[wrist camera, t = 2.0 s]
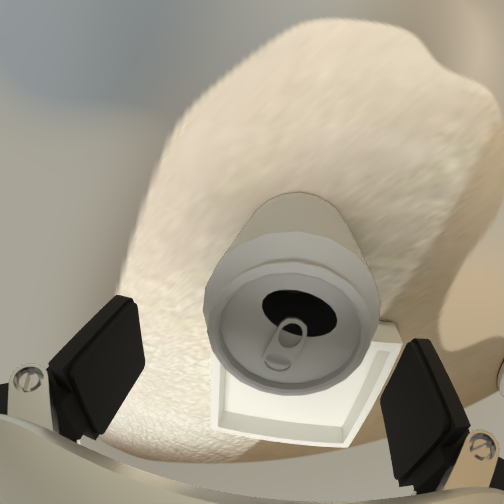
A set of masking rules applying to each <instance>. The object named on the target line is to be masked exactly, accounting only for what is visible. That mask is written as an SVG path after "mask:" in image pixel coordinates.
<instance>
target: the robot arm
mask: <svg viewBox="0 0 504 504" xmlns="http://www.w3.org/2000/svg"><path fill="white" fill-rule="evenodd" d="M144 366H145V356H144V350H143V344H142V337H141V330H140V322H139V314H138V307H137V304H136V303H134V301H133V299H132V298H129V297H125V296H121V295H116V296H114V297H113V299H111V300H110V301H109V302H108V303H107V304H106V305H105V306H104V307H103V308H102V309H101V310H100V311H99V312H98V313H97V314H96V315H95V316H94V317H93V318H92V319H91V320H90V321H89V322H88V323H87V324H86V325H85V326H84V327H83V328H82V329H81V330H80V331H79V332H78V333H77V334H76V335H75V336H74V337H73V338H72V339H71V340H70V341H69V342H68V343H67V344H66V345H65V346H64V347H63V348H62V349H61V350H60V351H59V353H57V354H56V355H55V357H54V358H53V359H52V360H51V361H50V362H49V367H48V368H47V369H45V368H44V367H42V366H41V365H39V364H35V363H28V364H24V365H22V366H20V367H18V368H17V369H15V370H14V371H13V373H12V374H11V376H10V379H9V383H6V384H0V504H504V459H502V458H500V457H498V456H499V444H498V442H497V440H496V438H495V437H494V436H493V435H492V434H491V433H489V432H488V431H485V430H479V429H477V430H474V431H472V432H471V433H470V432H469V429H468V428H469V427H470V426H471V425H470V423H469V420H468V418H467V416H466V413H465V411H464V409H463V406H462V404H461V402H460V400H459V397H458V395H457V393H456V391H455V389H454V387H453V385H452V382H451V380H450V378H449V376H448V374H447V372H446V370H445V368H444V366H443V364H442V362H441V360H440V358H439V356H438V354H437V353H436V351H435V349H434V347H433V345H432V343H431V341H430V340H429V339H418V338H415V339H413V340H412V341H411V342H409V343H407V345H406V347H405V349H404V351H403V353H402V355H401V358H400V360H399V362H398V364H397V366H396V368H395V370H394V372H393V374H392V376H391V378H390V380H389V382H388V384H387V386H386V388H385V390H384V392H383V393H382V396H381V400H380V404H381V409H382V414H383V418H384V423H385V428H386V433H387V438H388V443H389V449H390V454H391V460H392V466H393V473H394V477H395V479H396V480H398V481H399V487H402V486H409V485H413V486H414V491H413V493H412V495H411V496H405V497H398V498H389V499H380V500H370V501H353V502H302V501H286V500H285V501H284V500H275V499H265V498H257V497H249V496H243V495H236V494H231V493H225V492H220V491H215V490H210V489H206V488H201V487H197V486H193V485H189V484H185V483H181V482H177V481H174V480H171V479H167V478H163V477H161V476H158V475H154V474H151V473H148V472H145V471H143V470H140V469H137V468H134V467H131V466H129V465H126V464H124V463H121V462H119V461H116V460H114V459H111V458H109V457H106V456H104V455H102V454H99V453H97V452H95V451H93V450H90V449H88V448H86V447H84V446H82V445H81V443H80V438H81V437H82V435H85V436H87V437H89V438H91V439H94V440H96V438H97V437H98V436H99V434H101V435H102V434H104V433H105V431H106V429H107V428H108V426H109V424H110V423H111V421H112V419H113V418H114V416H115V414H116V413H117V411H118V410H119V408H120V406H121V405H122V403H123V401H124V400H125V398H126V396H127V395H128V393H129V392H130V390H131V388H132V387H133V385H134V383H135V382H136V380H137V379H138V377H139V375H140V374H141V372H142V371H143V369H144ZM497 386H498V389H499V391H500V393H501V395H502V396H503V397H504V362H503V364H502V366H501V369H500V372H499V375H498V380H497Z"/></svg>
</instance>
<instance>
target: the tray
mask: <svg viewBox="0 0 504 504" xmlns="http://www.w3.org/2000/svg"><path fill="white" fill-rule="evenodd" d="M402 345H403V343H402V340H401V338H400V335H399V333H398V331H397V328H396V326H395V323H392V322H382V321H379V325H378V328H377V330H376V332H375V334H374V336H373V338H372V341H371V344H370V347H369V349H368V351H367V353H366V355H365V357H364V359H363V361H362V363H361V365H360V366H359V367H358V368H357V369H356V370H355V371H354V372H353V373H352V374H351V375H350V376H349V377H348V378H347V379H345V380H343V381H342V382H340V383H338V384H336V385H334V386H333V387H331V388H329V389H327V390H324V391H320V392H316V393H312V394H308V395H301V396H281V395H276V394H271V393H266V392H262V391H259V390H257V389H255V388H252V387H250V386H248V385H246V384H244V383H242V382H240V381H239V380H238V379H236V378H235V377H234V376H233V375H232V374H230V373H229V372H228V371H227V370H226V369H224V367H223V366H222V365H221V363H220V362H219V360H218V359H217V357H216V356H215V354H214V353H213V351H212V348H211V379H210V429H211V430H216V431H220V432H225V433H229V434H234V435H239V436H245V437H250V438H256V439H262V440H269V441H276V442H283V443H291V444H301V445H311V446H324V447H344V448H348V446H349V445H350V443H351V442H352V440H353V439H354V437H355V435H356V434H357V432H358V430H359V429H360V427H361V425H362V424H363V422H364V420H365V419H366V417H367V415H368V413H369V412H370V410H371V408H372V406H373V404H374V403H375V401H376V399H377V397H378V395H379V393H380V391H381V389H382V387H383V385H384V383H385V381H386V379H387V377H388V375H389V373H390V371H391V369H392V367H393V365H394V363H395V361H396V358H397V356H398V354H399V352H400V350H401V347H402Z"/></svg>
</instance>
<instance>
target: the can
mask: <svg viewBox="0 0 504 504" xmlns="http://www.w3.org/2000/svg"><path fill="white" fill-rule="evenodd" d="M203 313H204V317H205V321H206V325H207V332H208V336H209V340H210V344H211V348H212V351H213V353H214V354H215V356H216V357H217V359H218V360H219V362H220V363H221V365H222V366H223V367H224V369H226V370H227V371H228V372H229V373H230V374H232V375H233V376H234V377H235V378H236V379H238V380H239V381H240V382H242V383H244V384H246V385H248V386H250V387H252V388H255V389H257V390H259V391H262V392H266V393H271V394H276V395H281V396H301V395H308V394H312V393H316V392H320V391H324V390H327V389H329V388H331V387H333V386H334V385H336V384H338V383H340V382H342V381H343V380H345V379H347V378H348V377H349V376H350V375H351V374H352V373H353V372H354V371H355V370H356V369H357V368H358V367H359V366H360V365H361V363H362V361H363V359H364V357H365V355H366V353H367V351H368V349H369V347H370V344H371V341H372V338H373V336H374V334H375V332H376V330H377V328H378V325H379V315H380V297H379V294H378V291H377V287H376V284H375V281H374V278H373V275H372V273H371V271H370V269H369V267H368V265H367V263H366V261H365V259H364V257H363V255H362V253H361V251H360V249H359V247H358V245H357V243H356V241H355V239H354V237H353V235H352V233H351V231H350V229H349V227H348V226H347V224H346V222H345V220H344V218H343V217H342V216H341V215H340V213H339V212H338V211H337V210H336V209H335V207H334V206H333V205H331V204H330V203H328V202H327V201H325V200H323V199H322V198H320V197H318V196H315V195H310V194H306V193H302V192H298V193H287V194H282V195H279V196H277V197H275V198H273V199H270V200H268V201H267V202H265V203H264V204H263V205H262V206H261V207H260V208H259V209H258V210H257V211H256V212H255V213H254V214H253V215H252V217H251V218H250V220H249V221H248V222H247V224H246V225H245V226H244V228H243V229H242V231H241V232H240V233H239V235H238V236H237V238H236V239H235V240H234V242H233V243H232V245H231V246H230V247H229V249H228V250H227V252H226V253H225V254H224V256H223V257H222V259H221V260H220V261H219V263H218V264H217V266H216V268H215V270H214V272H213V274H212V276H211V277H210V279H209V281H208V283H207V285H206V288H205V296H204V305H203Z"/></svg>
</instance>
